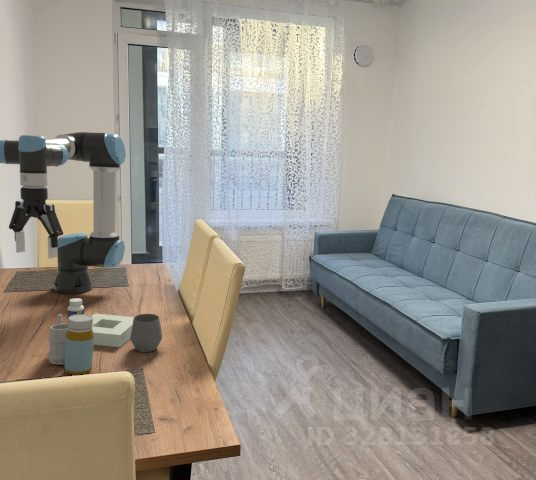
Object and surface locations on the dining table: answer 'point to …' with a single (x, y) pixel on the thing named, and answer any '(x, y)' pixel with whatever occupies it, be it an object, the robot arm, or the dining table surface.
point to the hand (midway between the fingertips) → (36, 254)
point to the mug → (57, 342)
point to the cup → (146, 332)
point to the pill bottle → (75, 307)
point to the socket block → (111, 329)
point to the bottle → (79, 344)
